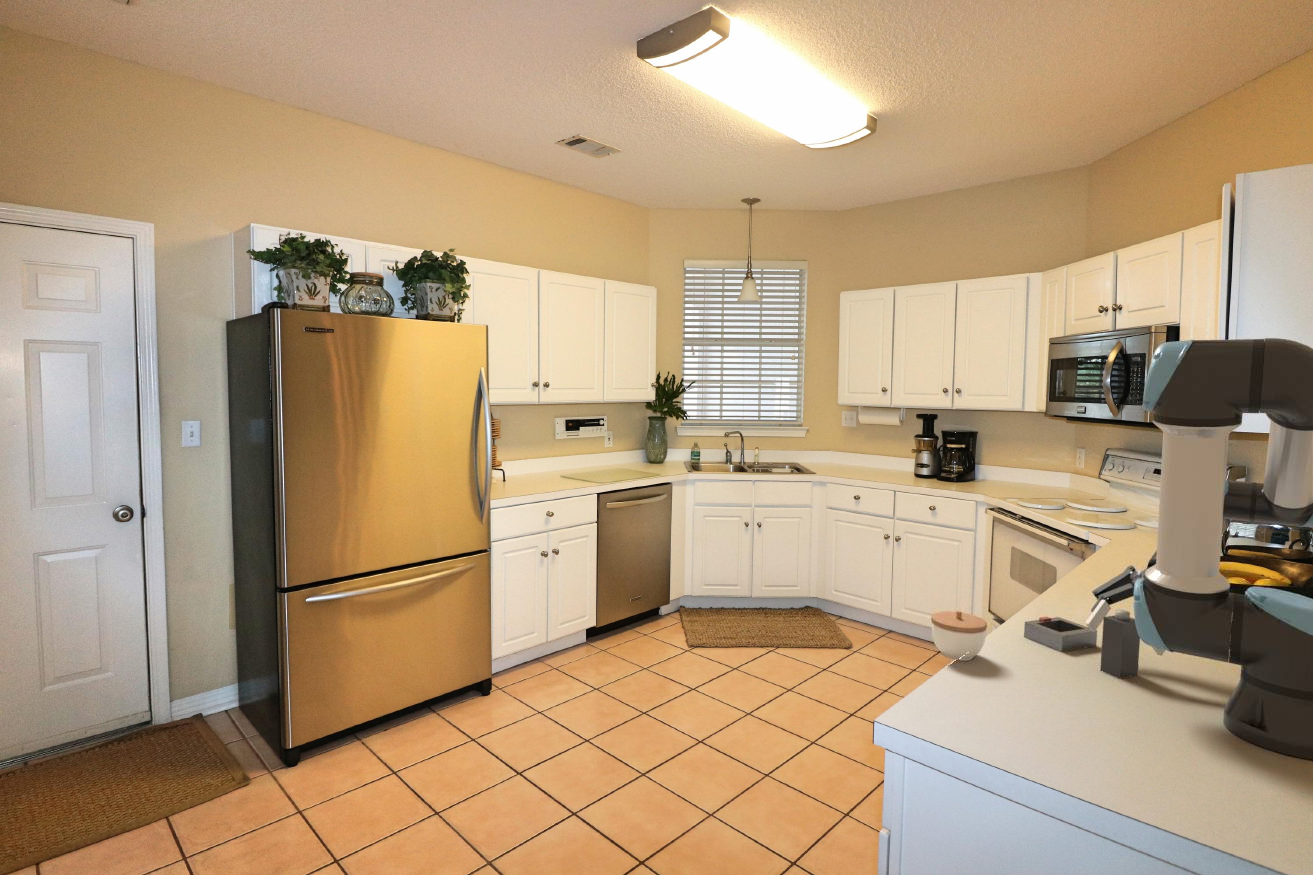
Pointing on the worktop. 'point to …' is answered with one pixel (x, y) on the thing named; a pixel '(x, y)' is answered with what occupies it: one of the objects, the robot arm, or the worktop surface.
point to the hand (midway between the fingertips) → (1121, 638)
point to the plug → (1120, 645)
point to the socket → (1060, 633)
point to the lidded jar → (958, 634)
